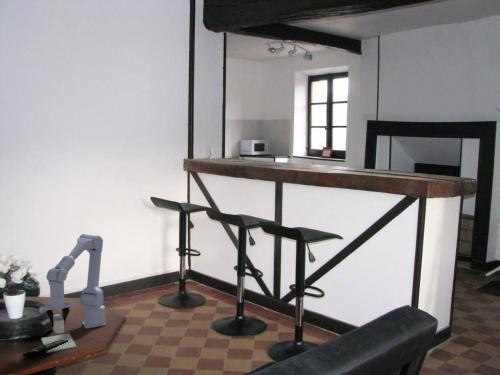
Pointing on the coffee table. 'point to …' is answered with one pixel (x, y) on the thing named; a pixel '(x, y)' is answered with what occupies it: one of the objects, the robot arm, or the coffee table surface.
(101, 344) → the coffee table surface
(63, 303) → the robot arm
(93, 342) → the coffee table surface
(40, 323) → the end cap
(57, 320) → the connector
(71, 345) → the mat
